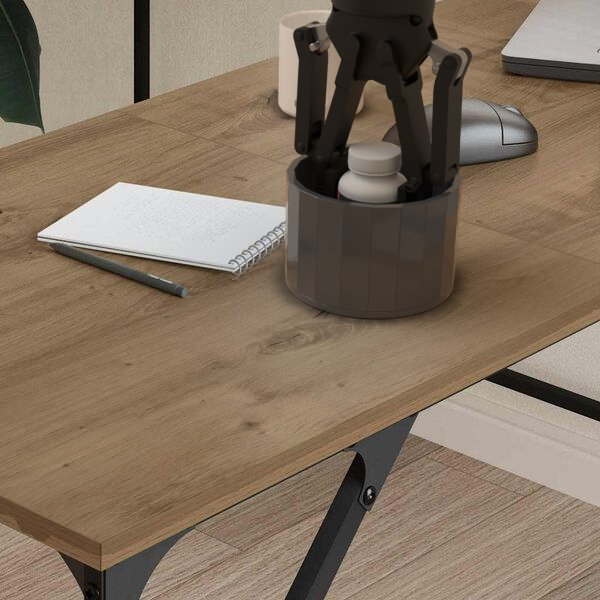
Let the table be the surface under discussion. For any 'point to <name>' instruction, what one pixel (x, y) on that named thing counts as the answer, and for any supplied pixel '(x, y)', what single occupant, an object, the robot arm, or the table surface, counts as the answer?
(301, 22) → the mug
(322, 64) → the robot arm
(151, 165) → the table surface
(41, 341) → the table surface
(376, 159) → the pill bottle
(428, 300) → the canister
